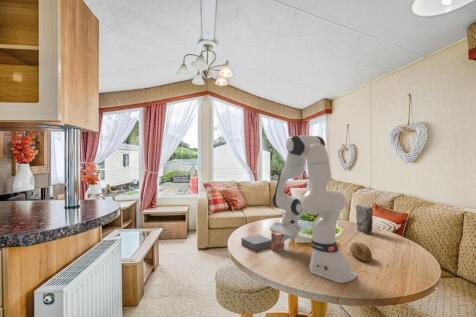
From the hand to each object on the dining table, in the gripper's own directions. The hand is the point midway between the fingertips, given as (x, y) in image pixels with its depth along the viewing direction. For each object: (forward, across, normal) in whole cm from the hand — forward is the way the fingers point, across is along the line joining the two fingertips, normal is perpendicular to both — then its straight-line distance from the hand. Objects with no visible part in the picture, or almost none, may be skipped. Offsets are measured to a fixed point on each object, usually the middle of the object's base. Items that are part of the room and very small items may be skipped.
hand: (276, 240), depth 153 cm
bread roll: (-18, +34, +27) cm, 47 cm away
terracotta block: (+3, 0, +4) cm, 5 cm away
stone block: (-53, +8, +61) cm, 81 cm away
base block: (+8, -13, 0) cm, 15 cm away
